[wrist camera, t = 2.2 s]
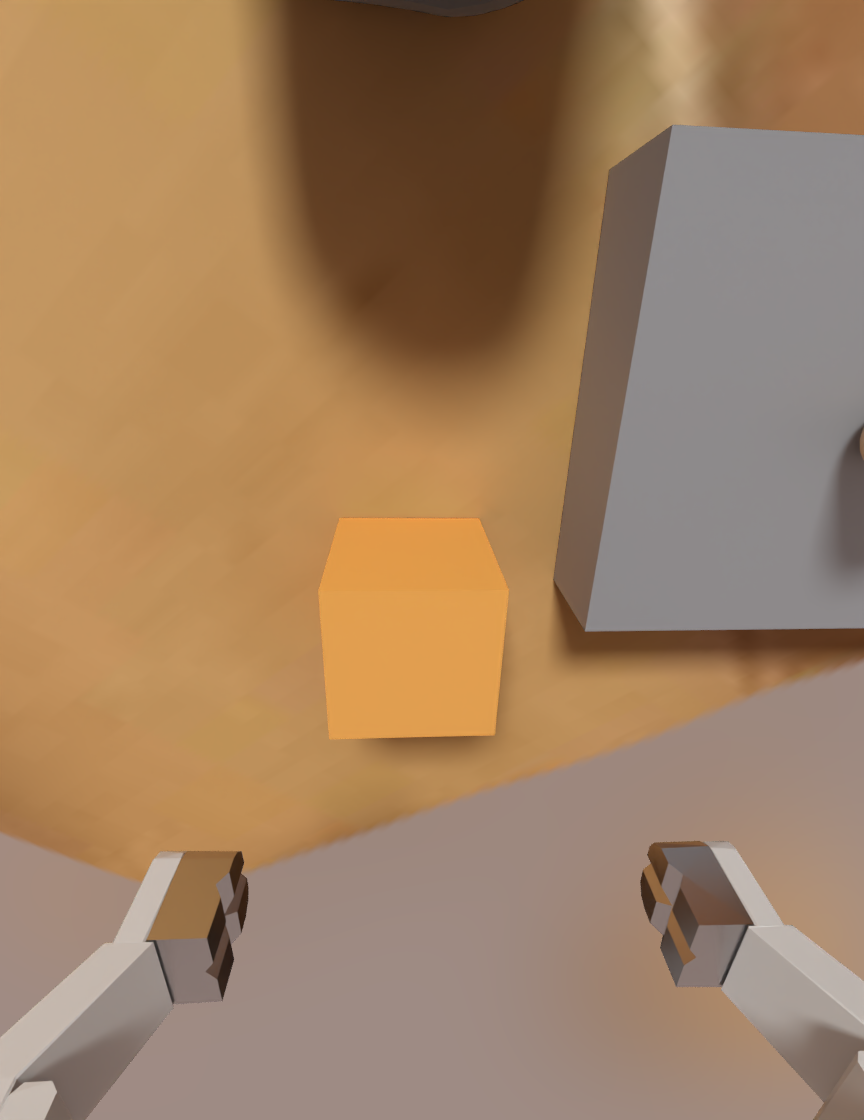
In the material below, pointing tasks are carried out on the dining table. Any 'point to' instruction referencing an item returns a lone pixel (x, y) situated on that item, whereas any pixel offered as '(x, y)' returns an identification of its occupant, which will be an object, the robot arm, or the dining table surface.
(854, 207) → the box
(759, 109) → the dining table surface
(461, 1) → the bluetooth speaker
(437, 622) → the matte orange cube
